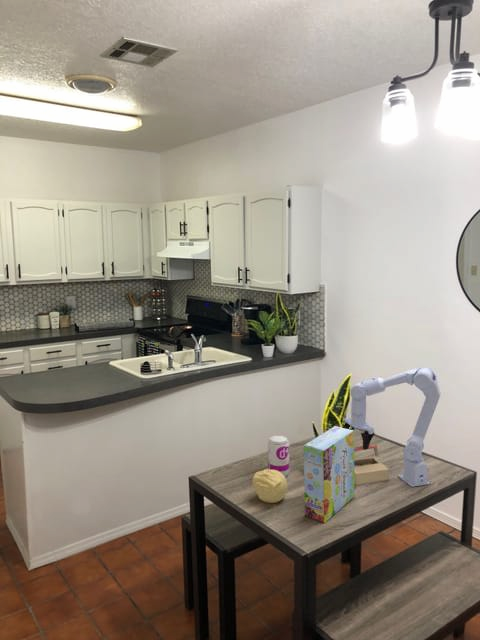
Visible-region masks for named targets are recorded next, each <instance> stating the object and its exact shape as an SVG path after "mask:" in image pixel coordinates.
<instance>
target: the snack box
mask: <svg viewBox="0 0 480 640" xmlns="http://www.w3.org/2000/svg"><path fill="white" fill-rule="evenodd" d="M354 447H355V429H354V430H350V429H345V428H342V426H338V425H337V426H336V425H334V426H333V427H331V428H330V429H328V430H326V431H324V432H323V433H321V434H320V435H318V436H316V437H315V438H313V439H312V440H311V441H309V442H307V443H306V444H304V445H303V483H304V484H303V487H304V491H303V492H304V494H303V495H304V516H305V517H308V518H310V519H314V520H316V521H319V522H321V523H323V524H326V522H328V520H330V519H331V518H332V517H333V516H334V515H335V514H337V513H338V512H339V511H340V510H341V509H343V507H344V506H346V505H347V504H348V503H349V502H350V501H351V500H352V499H354V497H355V484H354V459H355V451H354Z"/></svg>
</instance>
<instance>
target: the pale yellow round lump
mask: <svg viewBox="0 0 480 640" xmlns="http://www.w3.org/2000/svg"><path fill="white" fill-rule="evenodd" d="M286 478H287V477H285V476H284V475H283V474H282V473H281V472H279V471H277V470H268V468H265V469H263V470H259V471H256V472H255V473H254V474H253V477H252V488H253V489H254V491H255V492H256V495H257V497H258V498H259V500H261V501H262V502H265V503H269V504H274V503H278V502H280V501H282V500H283V499H284V498H285V496H286V495H287V492H288V481H287V479H286Z"/></svg>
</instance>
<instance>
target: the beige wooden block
mask: <svg viewBox="0 0 480 640" xmlns="http://www.w3.org/2000/svg"><path fill="white" fill-rule="evenodd" d="M371 449H373V450H374V455H375V456H369V457H361V458H354V460H361V459H368V458H374V459H376V458H380V457H381V455H379V450H378V445H377V443H375V444H369V447H368V449H367V450H371ZM357 451H365V450H364V449H363V445H362V446H361V445H360V446H354V452H357Z"/></svg>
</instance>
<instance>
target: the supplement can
mask: <svg viewBox="0 0 480 640" xmlns="http://www.w3.org/2000/svg"><path fill="white" fill-rule="evenodd" d="M288 439H289V438H288V437H287V436H285V435H280V434H276V435H272V436H270V437H269V440H268V441H267V442H268V446H267V448H268V449H267V453H268V457H267V458H268V466H267V467H268V468H267V469H268V470H277V471H279V472H281V473H282V474H283V475H284V476H285V478H287V476H289V474H290V441H289V440H288Z"/></svg>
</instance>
